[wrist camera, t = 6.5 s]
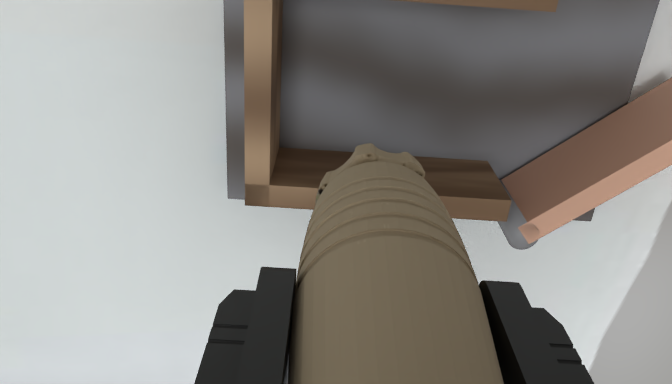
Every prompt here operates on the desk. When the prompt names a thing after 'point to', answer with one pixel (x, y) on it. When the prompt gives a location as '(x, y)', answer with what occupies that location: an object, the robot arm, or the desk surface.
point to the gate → (590, 168)
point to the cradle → (419, 89)
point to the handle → (386, 284)
